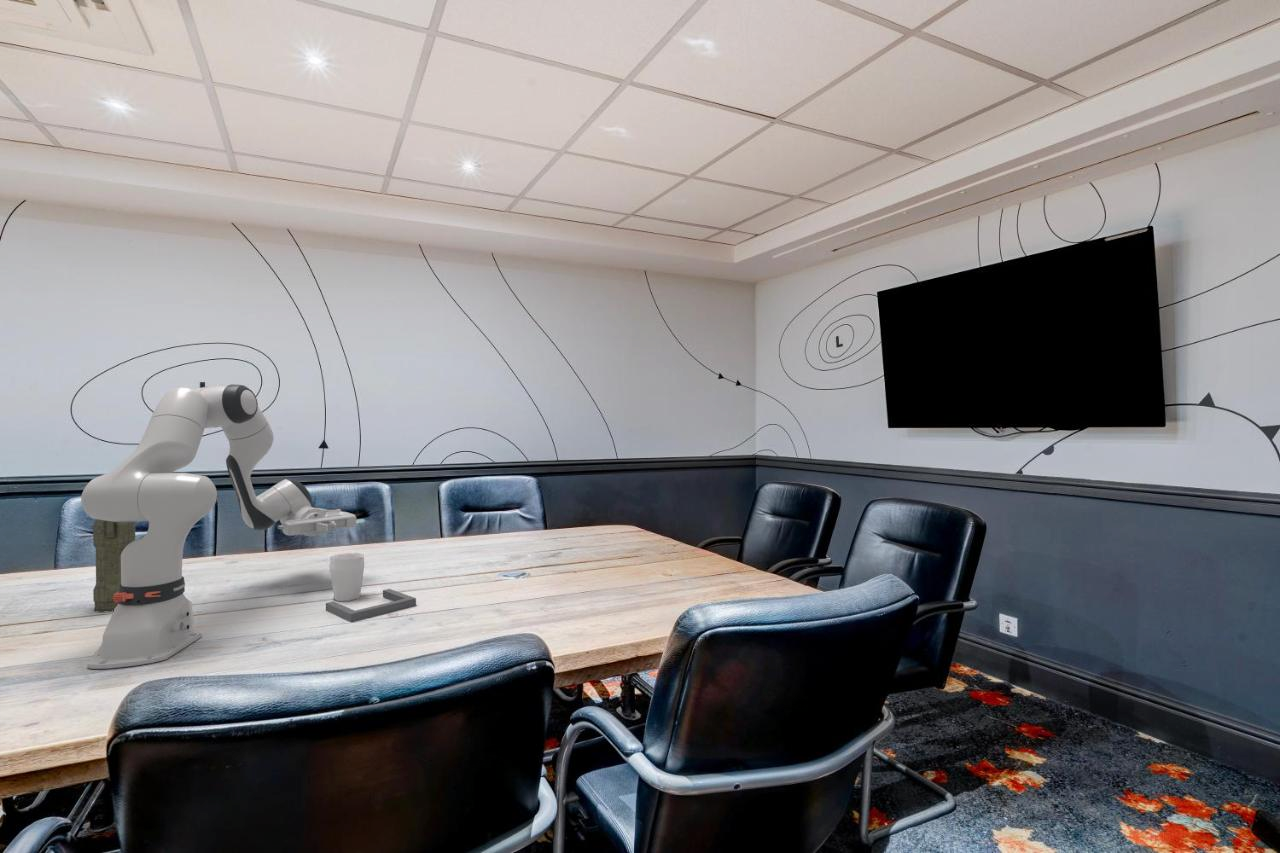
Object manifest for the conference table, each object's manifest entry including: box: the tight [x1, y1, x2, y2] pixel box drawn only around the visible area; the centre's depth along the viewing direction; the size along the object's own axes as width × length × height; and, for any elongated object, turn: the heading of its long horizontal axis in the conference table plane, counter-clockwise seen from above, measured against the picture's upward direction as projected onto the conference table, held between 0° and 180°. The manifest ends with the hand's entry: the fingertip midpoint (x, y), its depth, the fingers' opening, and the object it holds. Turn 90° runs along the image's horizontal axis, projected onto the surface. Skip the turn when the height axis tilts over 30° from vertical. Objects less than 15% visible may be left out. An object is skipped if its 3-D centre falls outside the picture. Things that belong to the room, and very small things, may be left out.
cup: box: [329, 552, 365, 602], centre depth 178 cm, size 9×9×12 cm
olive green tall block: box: [92, 519, 136, 612], centre depth 168 cm, size 9×12×35 cm
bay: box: [325, 588, 417, 623], centre depth 169 cm, size 14×18×2 cm
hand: (331, 527), depth 184 cm, fingers closed
